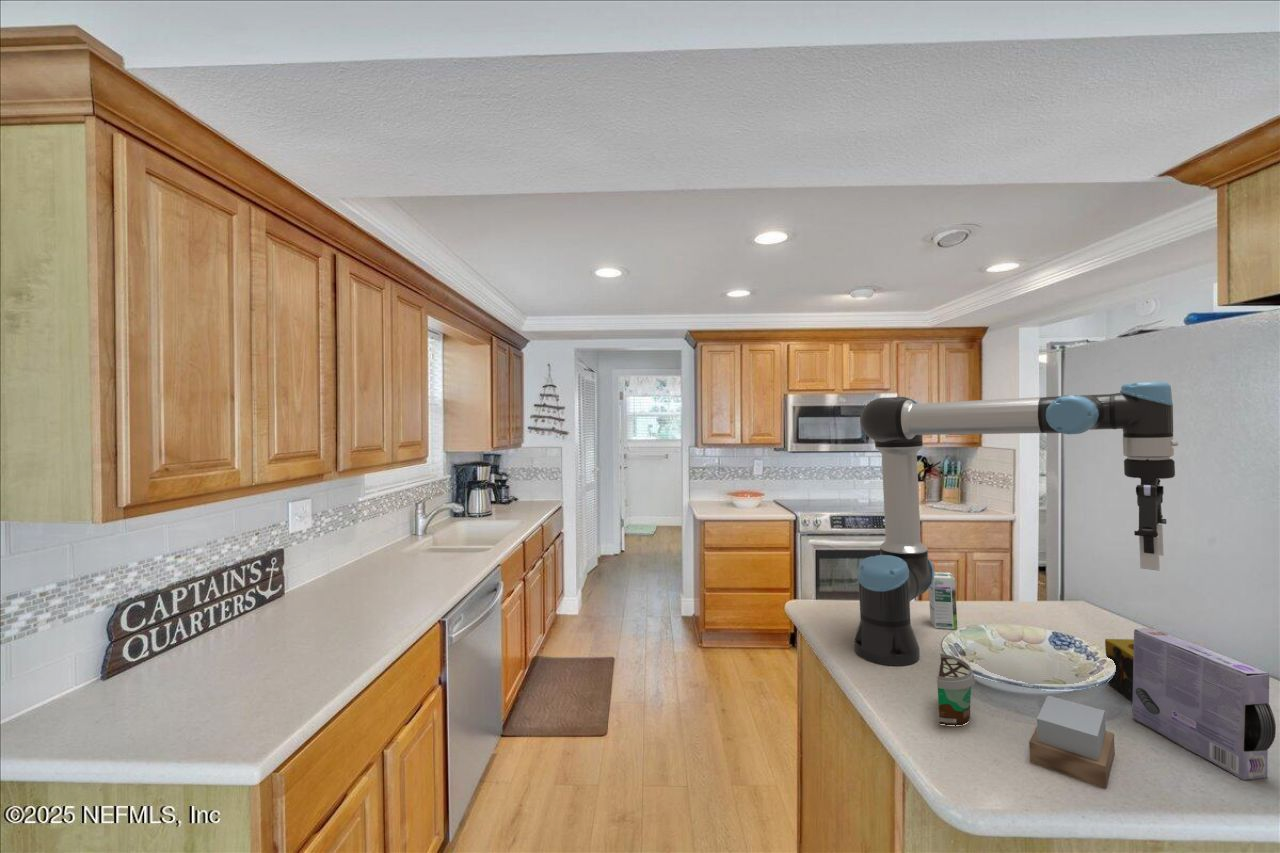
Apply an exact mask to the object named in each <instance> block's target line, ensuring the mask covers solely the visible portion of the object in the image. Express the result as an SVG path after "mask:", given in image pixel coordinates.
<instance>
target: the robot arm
mask: <svg viewBox="0 0 1280 853" xmlns="http://www.w3.org/2000/svg"><path fill="white" fill-rule="evenodd" d="M859 416H860V417H859V422H860V427H861V430H862V432H863V433H864V434H865V435H866V436H867V437H868V438H869V439H872V440H873V441H874V446H875V449H877V451H879V452H880V454H881V466H882V467H881V469H882V486H883V487H882V489H883V490H882V491H883V510H884V511H883V512H884V513H883V514H884V530H885V531H884V533H885V534H884V535H885V536H884V537H885V540H884V541H883V542H882V543H881V544H880V545H879V555H875V556H873V555H871V556H868V557H865V558H864V559H862V560H861V561H860V563H858V572H857V580H858V595H859V596H858V597H859V614H860V615H859V619H860V621H859V623H858V626H857V630H856V633H855V635H854V640H853V642H854V643H853V644H854V645H853V646H854V648H853V649H854V651H855V653H856V654H857V655H858V656H859V657H861V658H862V659H864V660H867V661H869V662H873V663H875V662H876V664H879V663H880V665H884V666H885V665H886V666H887V665H888V666H907V665H908V666H909V665H912V664H915V663H916V662H918V661H919V660H920V658H921V650H920V646H919V645H920V644H919V643H918V641H917V640H918V639H917V637H916V635H915V632H914V629H913V627H912V624H911V601H913V600H915V599H916V598H918V597H919V596H921V595H923V594H925V593H926V592H927V591H929V587H930V585H931V584H932V582H933V579H934V572H935V568H934V565H933V563H932V561H931V559H930V558H929V556H928V554H929V553H928V547H927V546H926V545H925V544H923V543H922V538H921V519H920V495H919V494H920V493H919V478H918V474H919V473H918V452H919V451H920V450H921V449H922V448H923V447H924V446H923V445H924V444H923V440H924V439H923V436H925V435H926V436H928V435H930V436H931V435H932V436H933V435H937V436H938V435H939V436H941V435H997V434H998V435H999V434H1014V435H1015V434H1064V435H1079V434H1083V433H1086V432H1088V431H1089V430H1090V431H1091V430H1092V431H1093V430H1095V431H1096V430H1122V453H1123V454H1122V455H1123V456H1125V457H1126V458H1125V459H1124V460H1123V471H1124V472H1123V473H1124V476H1126V477H1127V478H1131V479H1132V478H1133V479H1140V484H1136V486H1135V493H1136V494H1135V495H1136V498H1137V499H1136V500H1137V501H1136V504H1137V507H1138V529H1137V530H1134V536H1138V537H1139V538H1138V539H1139V542H1138V543H1139V560H1140V561H1139V564H1140V569H1143V570H1149V571H1159V572H1160V569H1161V568H1160V556H1161V557H1164V535H1163V534H1164V532H1163V530H1164V528H1163V525H1167V518H1164V517H1163V516H1164V515H1163V514H1162V504H1163V503H1164V502H1163V500H1164V499H1163V497H1164V496H1163V495H1164V493H1165V492H1164V488H1165V487H1164V485H1160V484H1161V480H1165V479H1172V478H1174V477H1176V466H1175V460H1174V459H1172V457H1173V456H1175V449H1174V447H1178V446H1179V443H1178V441H1177V440H1176V441H1175V440H1174V403H1173V395H1172V387H1171V385H1170V384H1169V383H1168V382H1165V381H1145V382H1131V383H1129V382H1128V383H1123V384H1122V385H1121V388H1120V391H1119V392H1116V393H1111V394H1110V393H1105V394H1080V395H1079V394H1073V395H1072V394H1069V395H1067V394H1066V395H1062V396H1061V395H1060V396H1056V395H1055V396H1045V397H1043V396H1042V397H1041V396H1039V397H1021V398H1020V397H1018V398H1003V399H1002V398H999V399H997V398H996V399H983V400H982V399H981V400H963V401H961V400H960V401H940V402H922V403H921V402H918V401H917V400H915V399H913V398H909V397H905V396H897V397H896V396H893V397H879V398H878V397H877V398H874V399H873V400H871V401H870V402H868V403H867V404H866V405H865V406H864V407H863V409H862V411H861V413H860V415H859Z"/></svg>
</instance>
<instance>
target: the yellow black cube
mask: <svg viewBox="0 0 1280 853" xmlns="http://www.w3.org/2000/svg"><path fill="white" fill-rule="evenodd" d="M1104 646H1105V649H1104V650H1105V655H1106V656H1107V657H1108V658H1110V659H1112V660H1113V661H1114V663H1115V665H1116V672H1115V675H1114V676H1113V678H1112V679H1111V680H1110V681H1109V682H1107V684H1108V685H1109V686H1110V687H1111V688H1113V689H1114V690H1116V691H1117V693H1119V694H1121V695H1122V696H1124V698H1126V699H1128V700H1129V701H1130V702H1132V703H1133V657H1134V638H1133V639H1128V638H1127V639H1126V638H1118V639H1117V638H1105V640H1104ZM1106 656H1105V657H1106ZM1107 657H1106V658H1107Z"/></svg>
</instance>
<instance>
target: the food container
mask: <svg viewBox="0 0 1280 853" xmlns="http://www.w3.org/2000/svg"><path fill="white" fill-rule="evenodd" d="M939 655H940V665H939V670H938V676H936V681H937V682H936V684H937V686H936V687H937V701H938V702H937V703H938V720H939V723H940V724H945V725H955V726H956V725H963V724H965V723H967V722H968V721H969V719H970V718H971V701H972V698H971V694H972V687H973V686H974V685H975V683H976V679H975V674H974V672H973V671H974V670H972V667H971V666H970V665H969V664H968V663H967V662H966V661H965V660H962V659H960V658H958V657H955V656H953V655H951V654H946V653H942V652H940V654H939ZM969 722H970V721H969ZM940 724H939V725H940Z"/></svg>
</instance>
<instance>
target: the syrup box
mask: <svg viewBox="0 0 1280 853" xmlns="http://www.w3.org/2000/svg"><path fill="white" fill-rule="evenodd" d="M928 598H929V600H928V601H929V616H930V617H929V619H930V622H931V624H932V626H933V627H934V629H936V630H937V629H943V630H944V629H947V630H956V629H957V630H958V614H957V613H958V612H957V592H956V577H955V576H954V575H953V574H952V573H951V572H949V571H948V572H936V571H934V579H933V582H932V584H931V585H930V587H929V588H928Z"/></svg>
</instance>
